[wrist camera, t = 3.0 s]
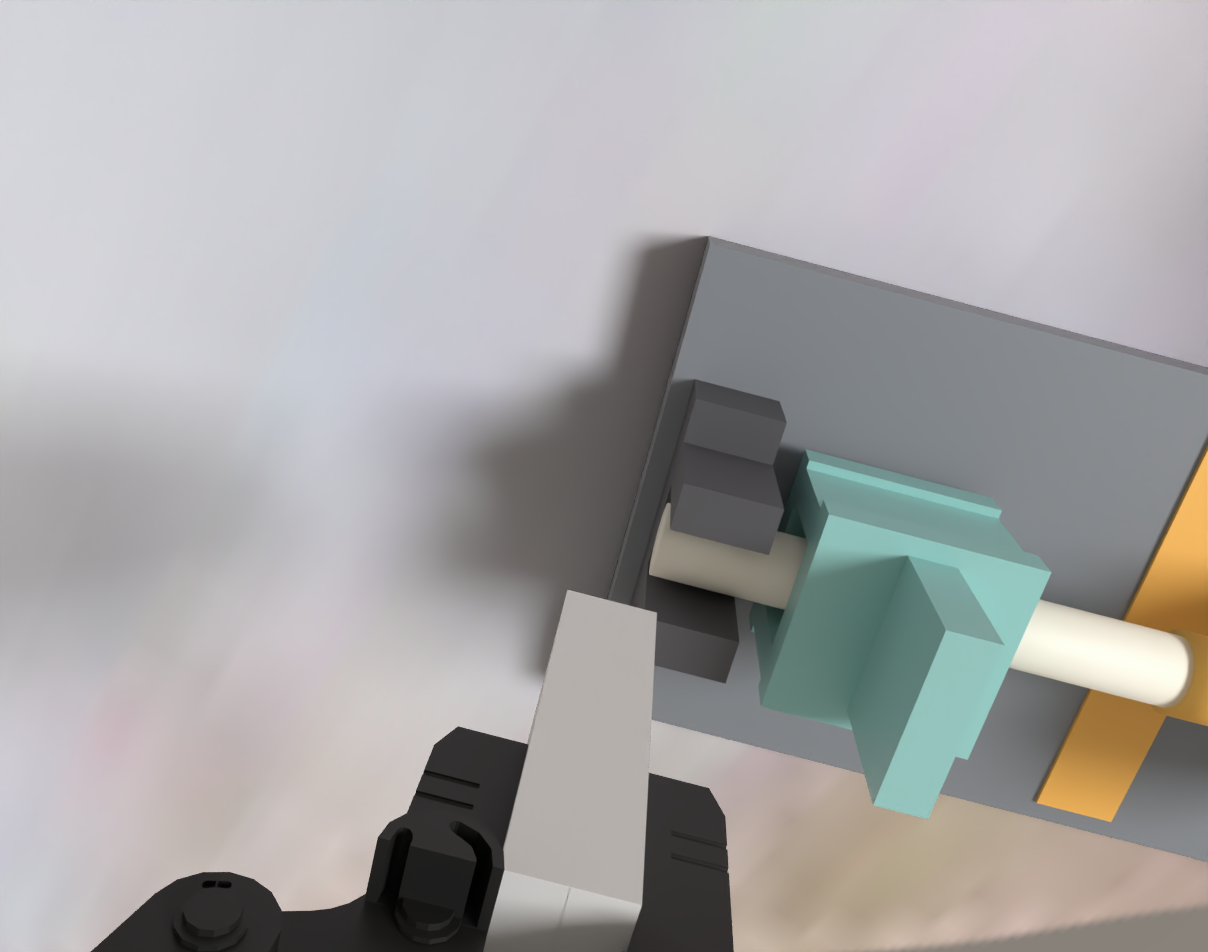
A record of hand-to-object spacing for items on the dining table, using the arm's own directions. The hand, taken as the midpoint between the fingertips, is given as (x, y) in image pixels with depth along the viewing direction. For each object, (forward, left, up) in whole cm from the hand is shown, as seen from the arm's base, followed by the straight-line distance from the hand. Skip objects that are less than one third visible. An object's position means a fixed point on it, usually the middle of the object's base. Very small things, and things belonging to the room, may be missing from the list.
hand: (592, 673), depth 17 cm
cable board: (0, +10, -10) cm, 14 cm away
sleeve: (0, +6, -8) cm, 10 cm away
